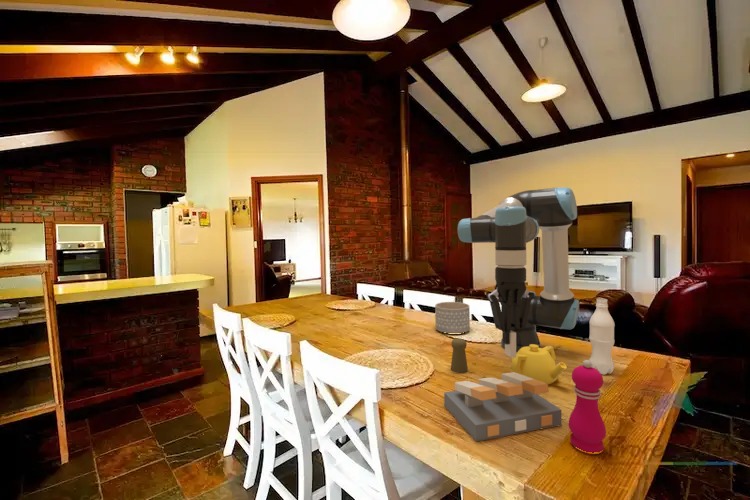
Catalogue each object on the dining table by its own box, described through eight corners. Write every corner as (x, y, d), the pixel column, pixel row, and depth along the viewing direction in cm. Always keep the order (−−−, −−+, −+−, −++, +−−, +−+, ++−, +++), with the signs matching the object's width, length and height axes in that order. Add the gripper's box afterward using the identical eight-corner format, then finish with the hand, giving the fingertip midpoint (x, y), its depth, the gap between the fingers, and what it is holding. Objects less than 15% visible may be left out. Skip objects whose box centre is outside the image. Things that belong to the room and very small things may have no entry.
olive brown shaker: (468, 373, 118) (468, 342, 117) (450, 372, 119) (450, 341, 118) (467, 366, 124) (467, 337, 123) (450, 365, 125) (450, 336, 124)
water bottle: (611, 369, 118) (612, 298, 117) (616, 377, 112) (617, 302, 110) (587, 366, 121) (588, 296, 120) (590, 374, 115) (591, 300, 113)
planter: (435, 335, 161) (435, 309, 161) (435, 325, 178) (435, 301, 177) (471, 336, 159) (471, 309, 158) (467, 326, 175) (467, 301, 174)
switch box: (517, 394, 102) (517, 373, 102) (562, 425, 86) (562, 400, 85) (444, 406, 97) (444, 383, 96) (476, 442, 80) (476, 415, 79)
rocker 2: (492, 384, 98) (490, 377, 98) (523, 393, 84) (521, 385, 85) (479, 386, 97) (478, 379, 97) (509, 396, 83) (507, 387, 84)
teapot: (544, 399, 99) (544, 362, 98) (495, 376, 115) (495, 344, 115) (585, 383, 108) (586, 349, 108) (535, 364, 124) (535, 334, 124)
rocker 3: (514, 379, 100) (513, 371, 100) (548, 391, 86) (547, 383, 86) (502, 380, 99) (501, 373, 99) (535, 394, 85) (534, 385, 85)
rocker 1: (468, 388, 96) (467, 380, 96) (496, 398, 83) (495, 389, 83) (455, 390, 95) (454, 382, 95) (481, 400, 82) (480, 391, 82)
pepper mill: (561, 437, 81) (561, 355, 80) (590, 435, 81) (590, 353, 80) (582, 458, 73) (583, 367, 72) (613, 455, 74) (615, 365, 73)
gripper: (522, 264, 94) (522, 348, 95) (480, 266, 91) (480, 353, 92) (542, 266, 86) (541, 358, 87) (496, 268, 83) (496, 363, 84)
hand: (510, 355), depth 89 cm, fingers closed
